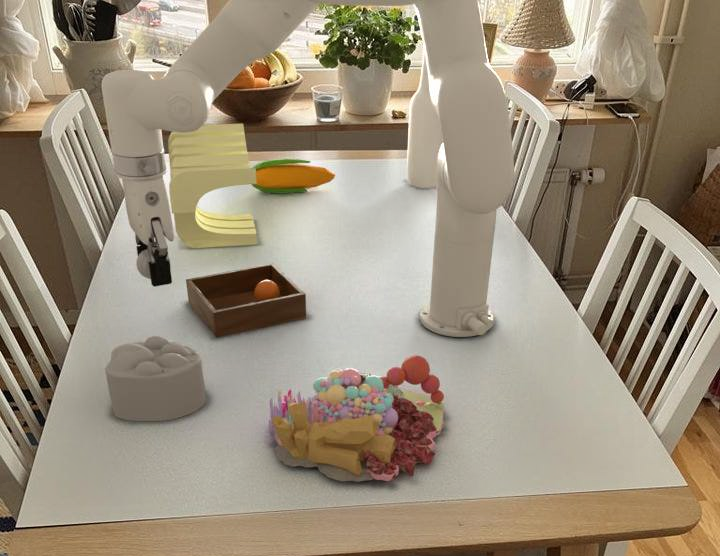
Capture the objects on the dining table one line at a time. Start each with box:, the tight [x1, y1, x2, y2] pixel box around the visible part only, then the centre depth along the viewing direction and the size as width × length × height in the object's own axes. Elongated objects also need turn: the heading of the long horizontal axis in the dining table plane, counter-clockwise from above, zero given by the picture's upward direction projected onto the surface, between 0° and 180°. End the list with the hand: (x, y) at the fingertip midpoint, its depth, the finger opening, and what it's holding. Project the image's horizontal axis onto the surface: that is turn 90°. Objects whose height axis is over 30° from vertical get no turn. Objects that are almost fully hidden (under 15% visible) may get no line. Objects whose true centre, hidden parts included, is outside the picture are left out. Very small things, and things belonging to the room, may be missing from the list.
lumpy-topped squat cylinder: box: [104, 335, 207, 422], centre depth 122 cm, size 10×13×9 cm
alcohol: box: [405, 44, 443, 189], centre depth 194 cm, size 9×9×30 cm
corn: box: [250, 158, 336, 194], centre depth 195 cm, size 7×8×20 cm
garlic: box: [135, 247, 172, 280], centre depth 136 cm, size 6×5×5 cm
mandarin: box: [255, 280, 280, 302], centre depth 148 cm, size 4×4×4 cm
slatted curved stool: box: [167, 123, 259, 249], centre depth 170 cm, size 30×16×18 cm, turn 11°
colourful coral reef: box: [268, 354, 445, 483], centre depth 115 cm, size 25×24×9 cm
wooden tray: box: [185, 262, 307, 338], centre depth 147 cm, size 14×16×4 cm
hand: (155, 275), depth 137 cm, fingers closed on garlic, 6 cm apart
